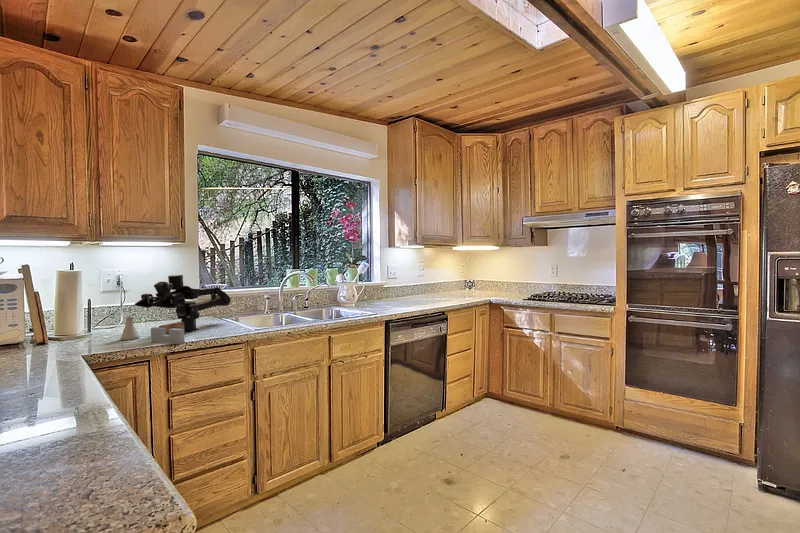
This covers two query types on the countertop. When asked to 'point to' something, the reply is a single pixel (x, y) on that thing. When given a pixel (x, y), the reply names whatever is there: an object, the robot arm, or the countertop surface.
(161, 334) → the slotted stand
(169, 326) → the walnut board
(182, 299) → the robot arm
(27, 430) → the countertop surface
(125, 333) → the flask
